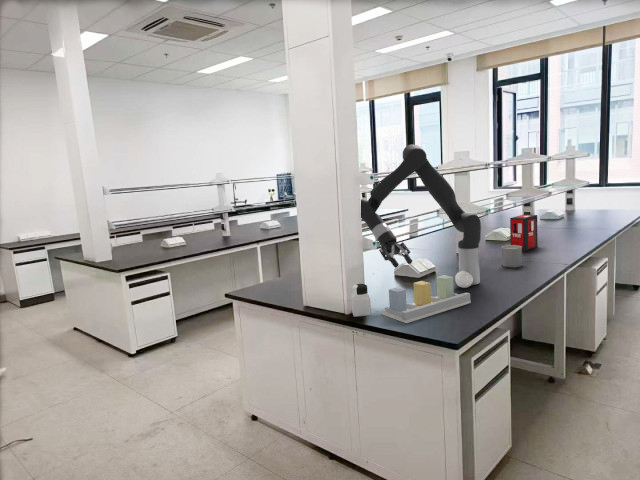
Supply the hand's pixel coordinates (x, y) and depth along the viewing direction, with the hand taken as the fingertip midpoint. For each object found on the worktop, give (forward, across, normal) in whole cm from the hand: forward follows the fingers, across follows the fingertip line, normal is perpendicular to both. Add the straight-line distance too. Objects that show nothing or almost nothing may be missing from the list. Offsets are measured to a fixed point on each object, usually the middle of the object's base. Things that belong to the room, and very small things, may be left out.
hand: (404, 264), depth 193 cm
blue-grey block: (+17, -14, +4) cm, 23 cm away
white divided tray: (+21, -1, +2) cm, 21 cm away
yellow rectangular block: (+18, -1, +3) cm, 18 cm away
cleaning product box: (-1, +128, +20) cm, 129 cm away
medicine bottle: (+10, -22, +15) cm, 28 cm away
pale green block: (+19, +12, +1) cm, 22 cm away
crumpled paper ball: (+16, +33, +6) cm, 37 cm away
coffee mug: (+11, +85, +8) cm, 86 cm away
